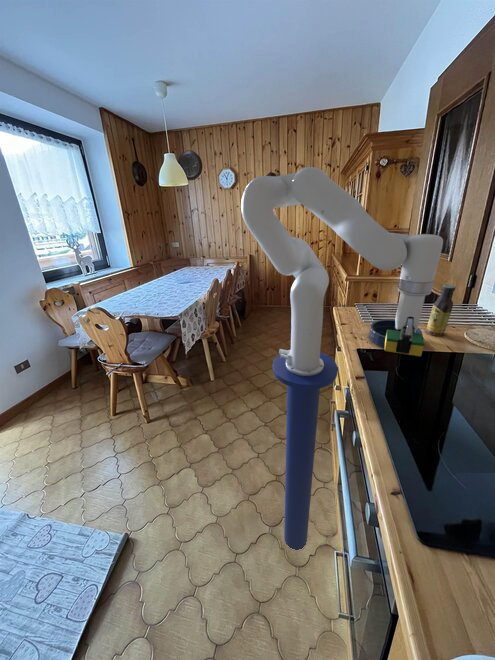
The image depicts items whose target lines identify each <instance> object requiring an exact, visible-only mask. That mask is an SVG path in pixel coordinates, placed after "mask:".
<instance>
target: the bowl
mask: <svg viewBox="0 0 495 660" xmlns="http://www.w3.org/2000/svg"><path fill="white" fill-rule="evenodd" d="M387 330H395V331H397V329H396V326H395V319H378V320H376V321H373V322H372V323H371V324H370V326H369V333H368V338H369V340H370V342H371V343H372V344H374V345H376V346H377V347H379V348H382V349H384V350H385V338H386V333H387ZM413 333H419V334H422V335H423V331H422V330H421V328H420V327H418V328H417V330H416V331H415V332H414V331H413Z"/></svg>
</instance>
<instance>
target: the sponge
mask: <svg viewBox="0 0 495 660" xmlns="http://www.w3.org/2000/svg"><path fill="white" fill-rule="evenodd" d="M400 333H401V331H395V330H387V333H386V338H385V349H384V352H389V353H396V354H400V353H399V352H396V347H397V343H398V338H399V339H400ZM403 334H405V332H403ZM424 346H425V341H424V334H423V333H422V334H419V333H413V335H412V343H411V347H410V351H409V354H406V353H401V354H402V355H407V356H408V355H409V356H414V357H422V355H423V351H424Z"/></svg>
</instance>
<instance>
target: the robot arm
mask: <svg viewBox="0 0 495 660" xmlns="http://www.w3.org/2000/svg"><path fill="white" fill-rule="evenodd" d="M299 205H300V206H301V205H302V206H303V207H304V208H305V209H306V210H308V211H309V212H311V213H312V214H313V215H314V216H316V217H317V218H318V219H319V220H321V222H323V223H324V224H325V225H327V226H328V227H329V228H331V230H333V232H335V234H336V235H337V236H338V237H339V238H341V239H342V240H343V241H344V242H345V243H346V244H347V245H348V246H349V247H350V248H351V249H352V250H353V251H354V252H356V253H357V254H358V255H360V257H361V258H363V259H364V260H365V261H367V262H368V263H369V264H371V265H372V266H373V267H375V268H376V269H379V270H381V271H384V272H385V271H387V272H388V271H394V270H396V269H398V268H400V267H401V271H400V276H399V280H398V282H399V283H398V286H397V291H398V292H399V293H400V295H399V300H398V304H397V309H396V313H395V319H394V320H395V326H396V329H397V331H401V333H400V339H399V338H398V343H397V347H396V352H399V353H398V354H402V353H406V354H405V355H408V354H409V351H410V347H411V343H412V335H413V331H414V332H415V331H416V330H417V328H419V324H420V321H421V316H422V312H423V307H424V303H425V299H426V296H429V295H431V294H432V290H433V287H434V284H435V283H434V282H435V278H436V274H437V270H438V266H439V263H440V257H441V254H442V250H443V245H444V239H443V237H441V236H440V235H437V234H430V233H422V234H421V233H419V234H404V233H397V232H389V230H387V229H386V228H385V227H383V226H382V225H381V224H380V223H379V222H377V221H376V220H375V219H374V218H373V217H372V216H371V215H370V214H369V213H368V212H367V211H366V209H365V208H364V206H363V204H361V202H360V201H359V200H358V199H356V198H355V197H354V196H353V195H352V194H351V193H349V192H348V191H346V190H345V189H344V188H343V187H341V186H340V185H339V184H337V183H336V182H335V181H334V180H333V179H332V178H331V177H329V176H328V175H327V173H326V172H325V171H324V170H323V169H321V168H319V167H315V166H306V167H303V168H301V169H300V170H298V171H296V172H291V173H287V174H282V175H281V174H280V175H274V176H273V175H260V176H256V177H254V178H253V179H252V180H250V181H249V183H247V185H246V187H245V189H244V190H243V194H242V197H241V203H240V209H241V216H242V219H243V222H244V225H246V227H247V229H248V231H249V232H250V233H251V234H252V236H253V238H254V239H255V240H256V241H257V243H258V245H259V247H260V248H261V249H262V251H263V252H264V254H265V255H266V257H267V258H268V260H269V261H270V262H271V264H272V265H273V267H274V269H275V270H276V271H277V272H278V273H279V274H280V275H283V276H287V277H288V276H293V277H294V278H295V279H294V281H293V282H292V285H291V288H290V293H289V298H290V308H291V309H290V311H291V315H290V316H291V318H290V319H291V321H290V322H291V325H290V326H291V327H290V332H291V333H290V349H288V350H287V349H284V348H283V349H282V348H279V350H278V355H280V354H281V355H280V358H285V359H287V360H286V367H287V369H288V370H289V371H291V372H292V373H294V374H297V375H301V376H313V375H316V374H319V373H320V372H321V371H322V370H323V369H324V362H323V361H322V359H320V352H321V348H322V347H321V346H322V335H323V319H324V301H325V295H326V292H327V289H328V287H329V284H330V277H329V273H328V271H327V270H326V268H325V266H324V265H323V264H322V262H321V260H320V258H318V256H317V255H316V253H315V252H314V250H313V249H312V248H311V246H310V244H309V243H308V242H307V241H306V240H304V239H302V238H301V237H296V236H295V237H294V236H293V237H292V236H291V234H290V233H289V231H288V230H287V228H286V227H285V225H284V224H283V222H282V221H281V220H280V219H279V218H278V217H277V216H276V215H275V213H274V210H275V209H279V208H287V207H293V206H299ZM403 332H405V334H403Z"/></svg>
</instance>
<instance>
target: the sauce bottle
mask: <svg viewBox="0 0 495 660" xmlns="http://www.w3.org/2000/svg"><path fill="white" fill-rule="evenodd" d="M456 288H457V287H456V286H455V285H453V284H447V283H446V284H443V285H442V286H441V291H440V294H439V297H438V298H437V299H436V300H435V302H434V303H433V305H432V308H431V311H430V314H429V317H428V318H429V319H428V322H427V325H426V333H427V334H429V335H431V336H436V337H441V336H443V335H444V334H445V332H446V330H447V326H448V323H449V320H450V317H451V314H452V311H453V307H454V301H453V295H454V293H455V291H456Z"/></svg>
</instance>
